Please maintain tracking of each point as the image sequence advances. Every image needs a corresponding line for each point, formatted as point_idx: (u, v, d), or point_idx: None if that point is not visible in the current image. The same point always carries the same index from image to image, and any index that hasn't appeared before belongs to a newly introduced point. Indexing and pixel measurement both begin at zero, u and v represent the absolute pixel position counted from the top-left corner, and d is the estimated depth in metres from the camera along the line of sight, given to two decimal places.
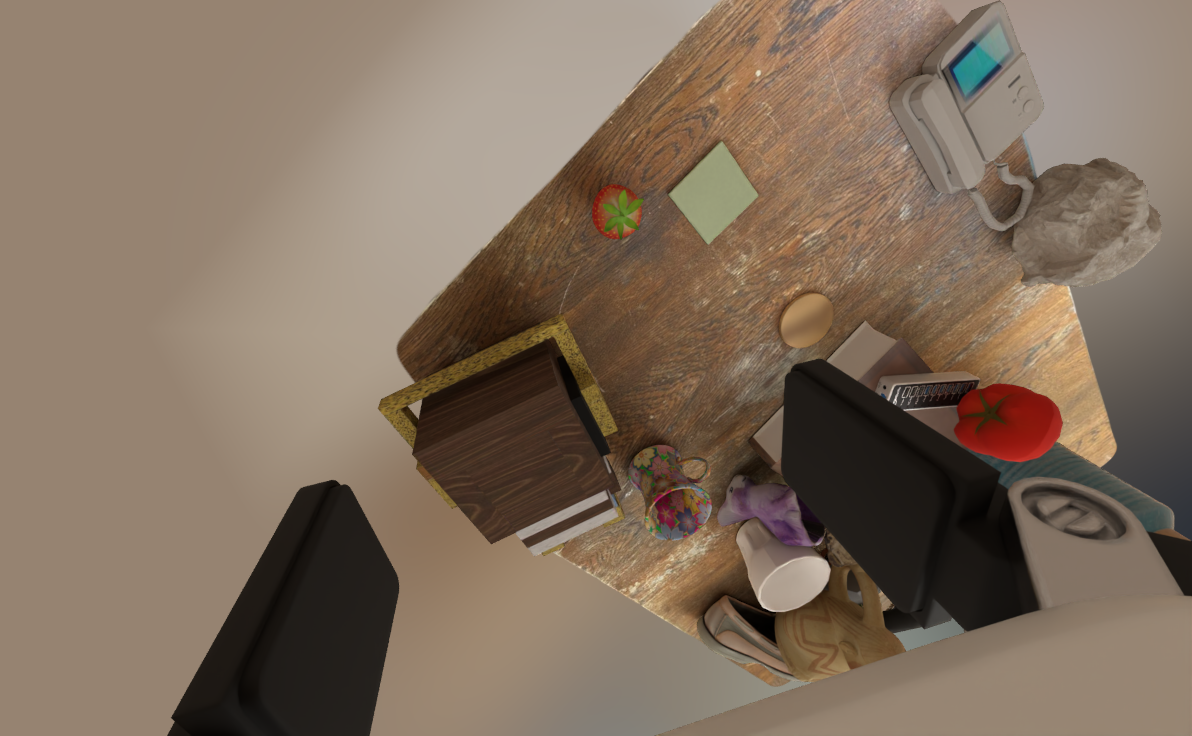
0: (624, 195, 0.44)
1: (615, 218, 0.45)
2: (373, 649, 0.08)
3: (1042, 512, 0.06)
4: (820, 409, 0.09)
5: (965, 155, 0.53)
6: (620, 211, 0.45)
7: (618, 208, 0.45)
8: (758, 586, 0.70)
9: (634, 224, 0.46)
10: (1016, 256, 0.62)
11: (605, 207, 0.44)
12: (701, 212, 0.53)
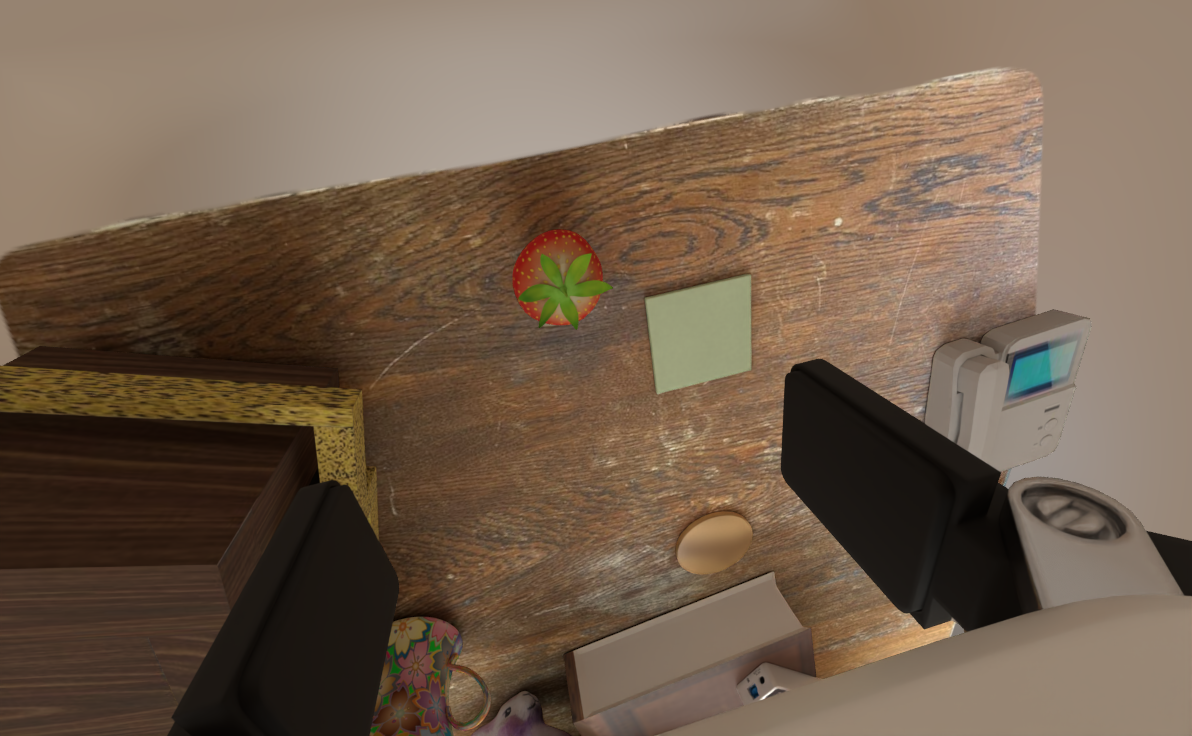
0: (585, 262, 0.23)
1: (550, 289, 0.24)
2: (373, 649, 0.08)
3: (1042, 512, 0.06)
4: (820, 409, 0.09)
5: None
6: (564, 283, 0.24)
7: (564, 276, 0.24)
8: None
9: (574, 315, 0.25)
10: None
11: (543, 261, 0.23)
12: (673, 348, 0.34)
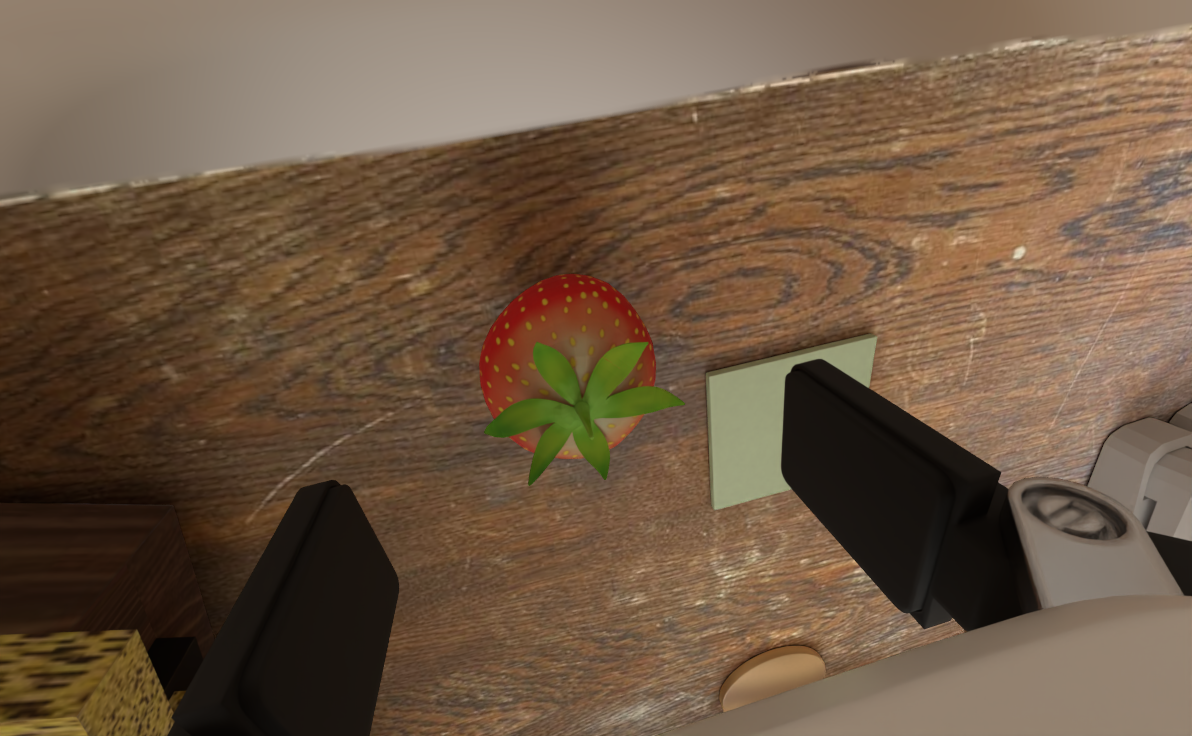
0: (631, 357, 0.11)
1: (553, 408, 0.11)
2: (373, 649, 0.08)
3: (1042, 512, 0.06)
4: (820, 409, 0.09)
5: None
6: (583, 396, 0.11)
7: (583, 382, 0.11)
8: None
9: (602, 452, 0.12)
10: None
11: (539, 355, 0.10)
12: (745, 446, 0.22)
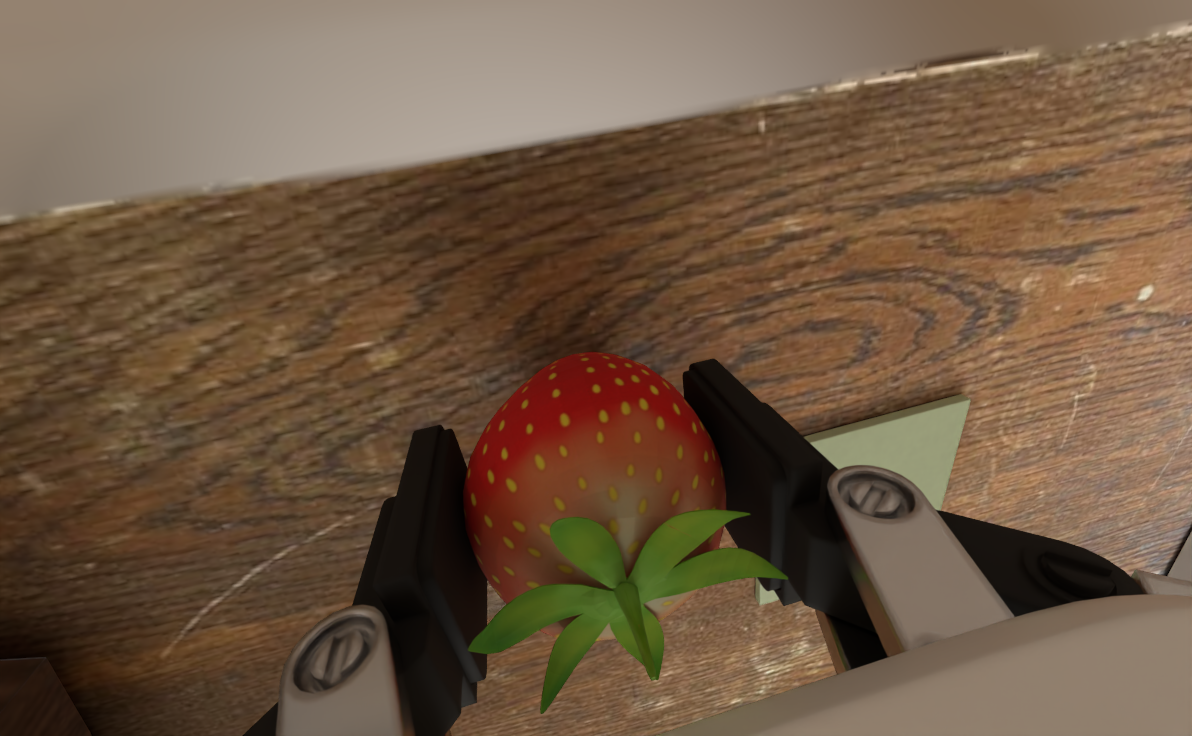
0: (711, 523, 0.06)
1: (581, 596, 0.07)
2: (480, 571, 0.09)
3: (852, 495, 0.06)
4: (704, 405, 0.09)
5: None
6: (630, 576, 0.07)
7: (630, 555, 0.07)
8: None
9: (652, 641, 0.08)
10: None
11: (560, 530, 0.06)
12: None
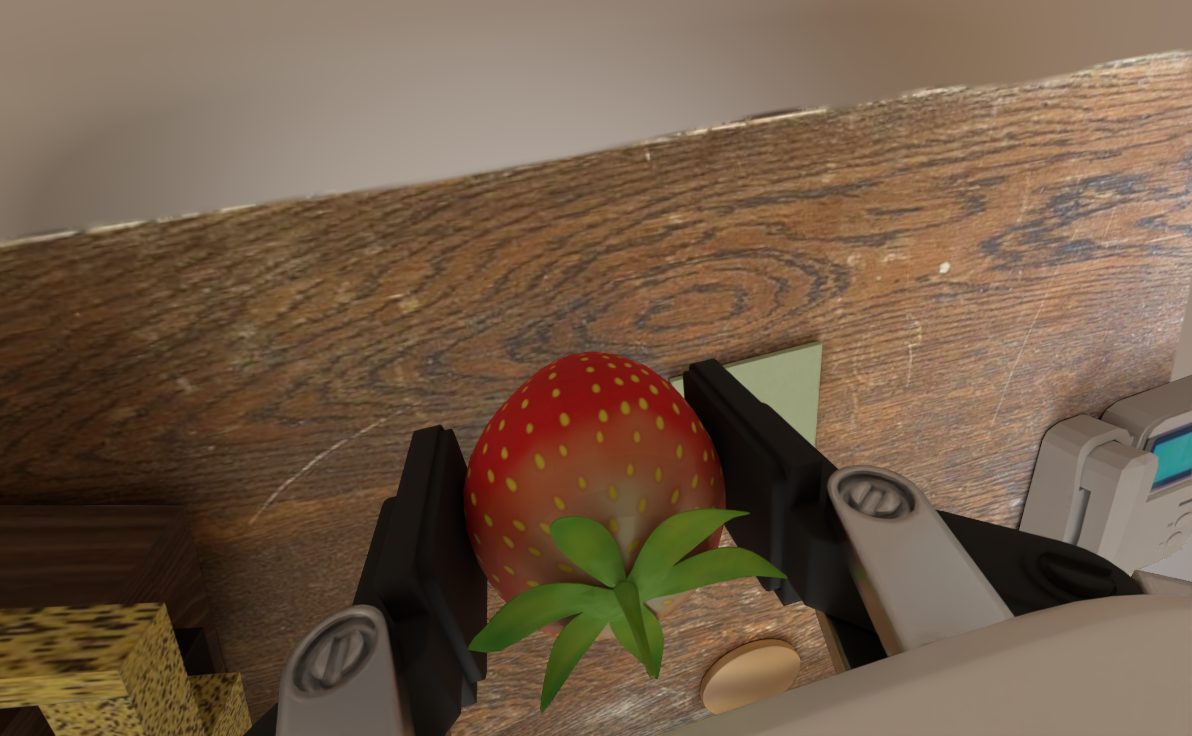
0: (710, 522, 0.06)
1: (581, 595, 0.07)
2: (480, 571, 0.09)
3: (852, 495, 0.06)
4: (704, 405, 0.09)
5: None
6: (629, 575, 0.07)
7: (629, 554, 0.07)
8: None
9: (652, 639, 0.08)
10: None
11: (560, 529, 0.06)
12: None
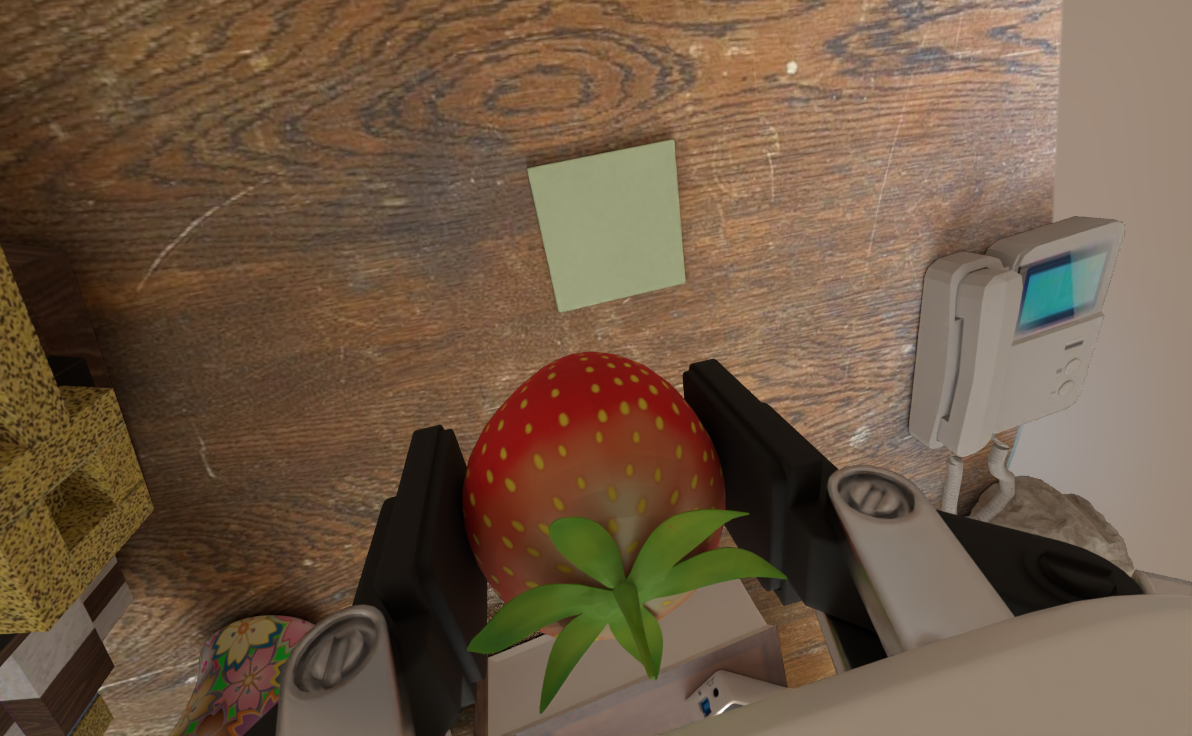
0: (710, 523, 0.06)
1: (580, 596, 0.07)
2: (480, 571, 0.09)
3: (852, 496, 0.06)
4: (704, 405, 0.09)
5: (983, 408, 0.32)
6: (629, 576, 0.07)
7: (629, 555, 0.07)
8: None
9: (651, 640, 0.08)
10: None
11: (559, 530, 0.06)
12: (574, 245, 0.25)
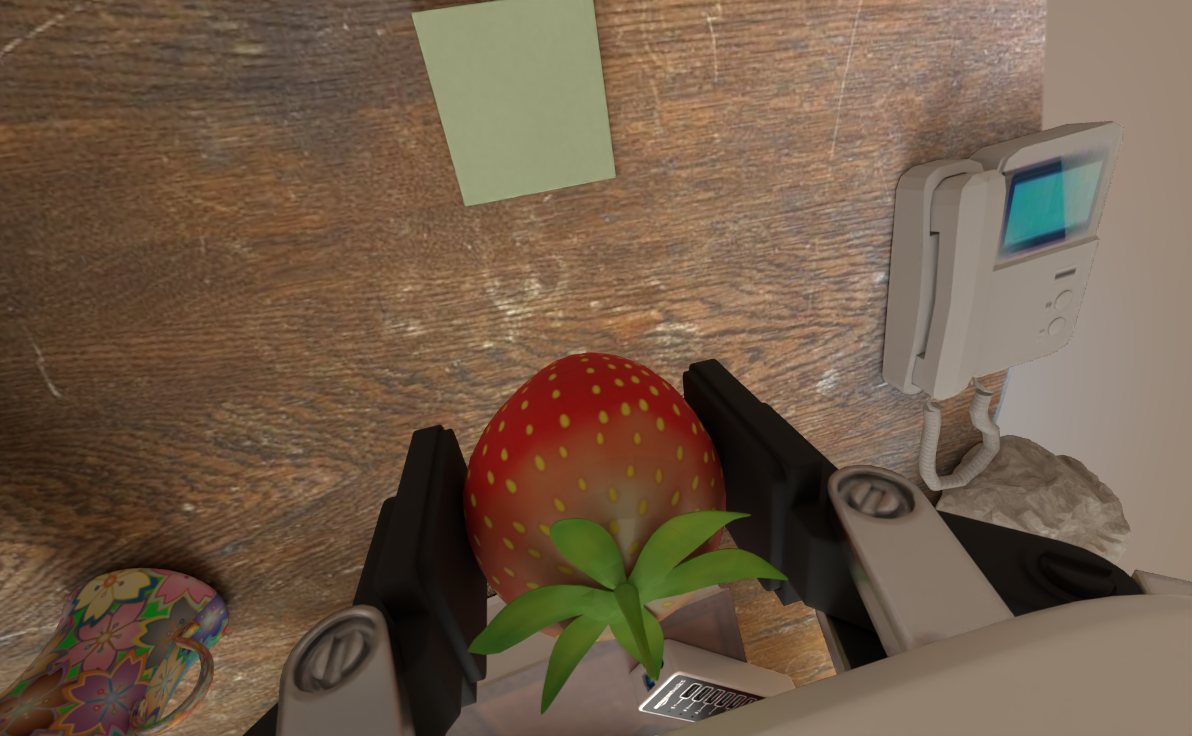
0: (711, 524, 0.06)
1: (581, 597, 0.07)
2: (480, 571, 0.09)
3: (852, 495, 0.06)
4: (704, 405, 0.09)
5: (962, 339, 0.28)
6: (630, 577, 0.07)
7: (630, 555, 0.07)
8: None
9: (652, 641, 0.08)
10: None
11: (560, 531, 0.06)
12: (477, 119, 0.22)
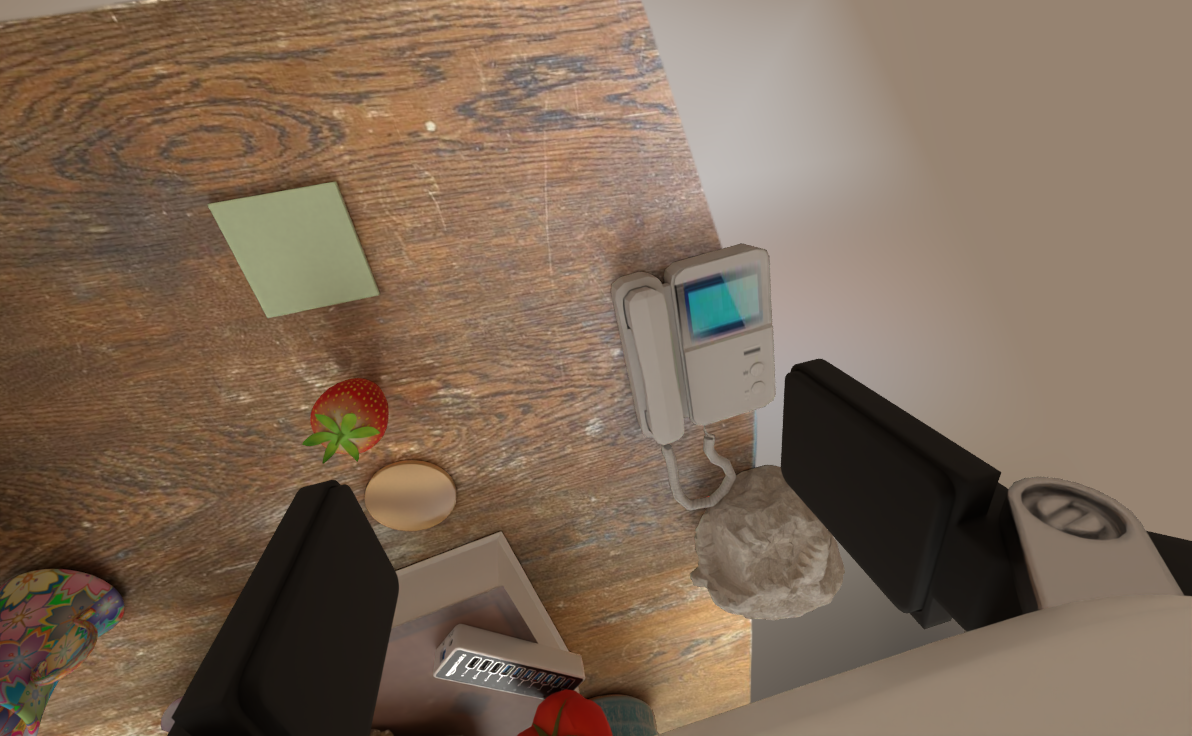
0: (353, 417, 0.31)
1: (330, 435, 0.31)
2: (373, 649, 0.08)
3: (1042, 512, 0.06)
4: (820, 409, 0.09)
5: (663, 402, 0.38)
6: (340, 430, 0.31)
7: (340, 426, 0.31)
8: None
9: (355, 451, 0.32)
10: (695, 544, 0.49)
11: (319, 417, 0.30)
12: (266, 264, 0.31)
